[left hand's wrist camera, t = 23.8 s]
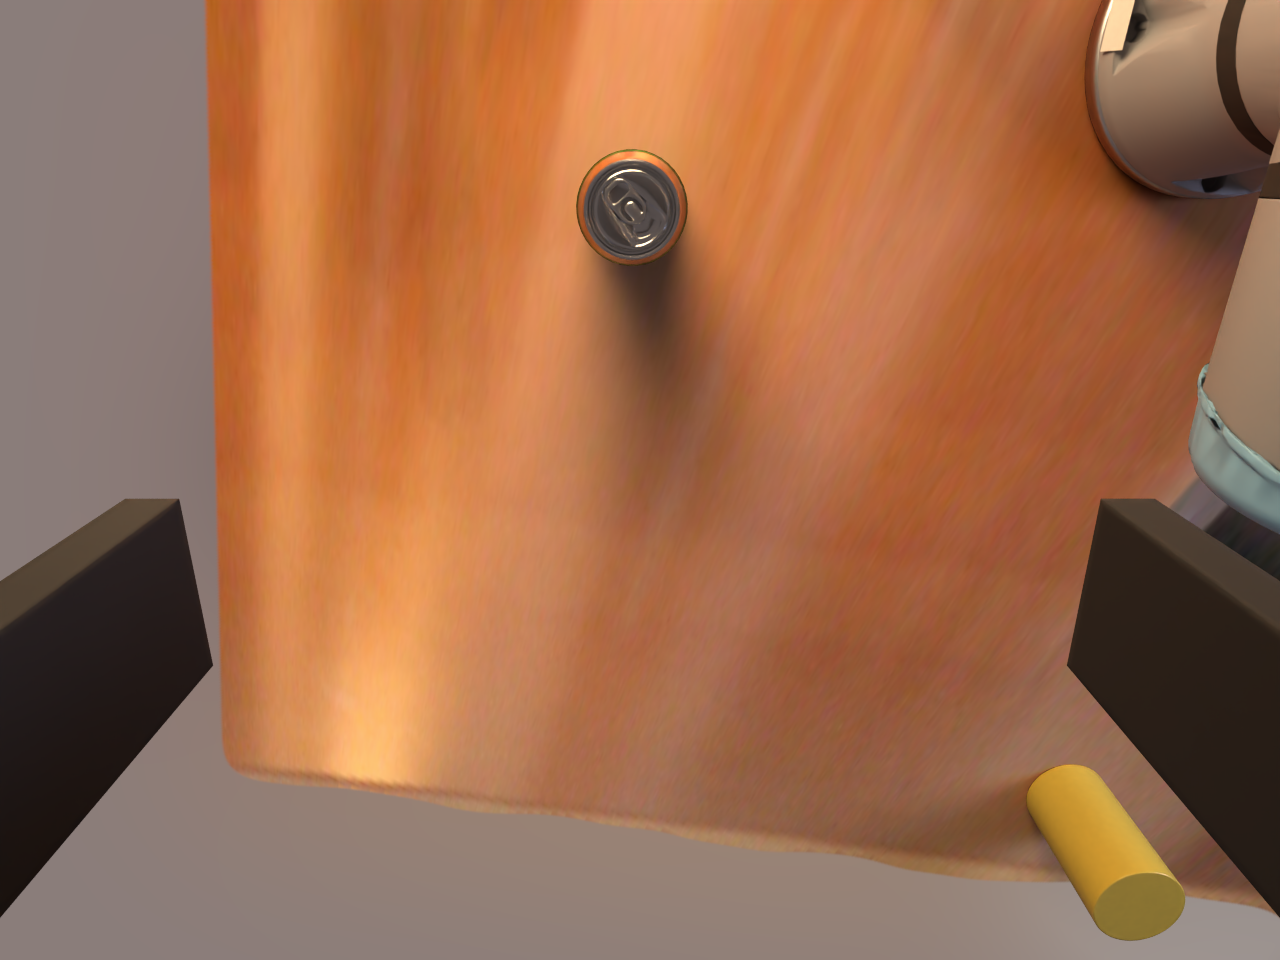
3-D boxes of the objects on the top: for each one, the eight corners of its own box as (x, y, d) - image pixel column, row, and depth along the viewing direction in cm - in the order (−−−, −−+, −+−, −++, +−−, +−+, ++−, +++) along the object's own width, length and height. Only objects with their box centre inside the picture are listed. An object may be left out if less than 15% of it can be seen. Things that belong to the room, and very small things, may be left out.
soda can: (629, 262, 50) (626, 292, 39) (571, 194, 49) (551, 204, 38) (695, 203, 49) (712, 215, 38) (637, 131, 48) (636, 123, 37)
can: (1043, 837, 66) (1112, 953, 56) (1013, 785, 64) (1080, 895, 54) (1115, 806, 65) (1198, 919, 55) (1087, 752, 63) (1168, 858, 53)
